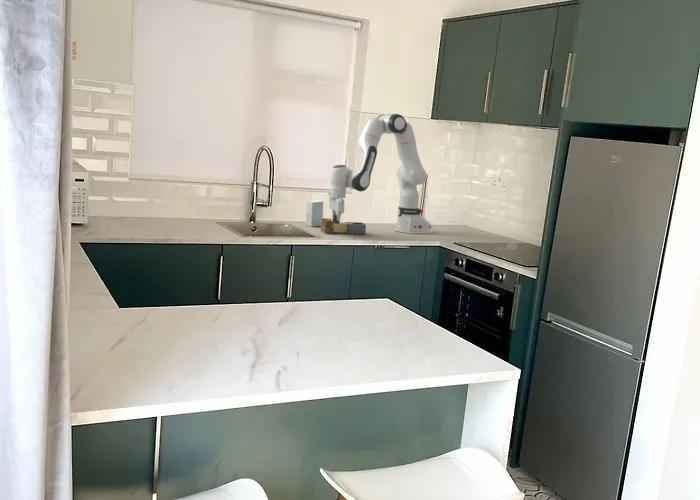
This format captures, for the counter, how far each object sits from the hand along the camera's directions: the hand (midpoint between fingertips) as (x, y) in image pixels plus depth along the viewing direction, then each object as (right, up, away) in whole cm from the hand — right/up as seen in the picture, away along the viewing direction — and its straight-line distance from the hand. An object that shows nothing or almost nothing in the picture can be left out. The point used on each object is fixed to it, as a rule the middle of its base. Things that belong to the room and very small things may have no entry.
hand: (336, 219), depth 394 cm
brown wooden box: (-5, -7, 0) cm, 9 cm away
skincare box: (-14, -3, +20) cm, 25 cm away
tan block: (+2, -8, +2) cm, 8 cm away
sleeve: (+10, -8, +4) cm, 14 cm away
